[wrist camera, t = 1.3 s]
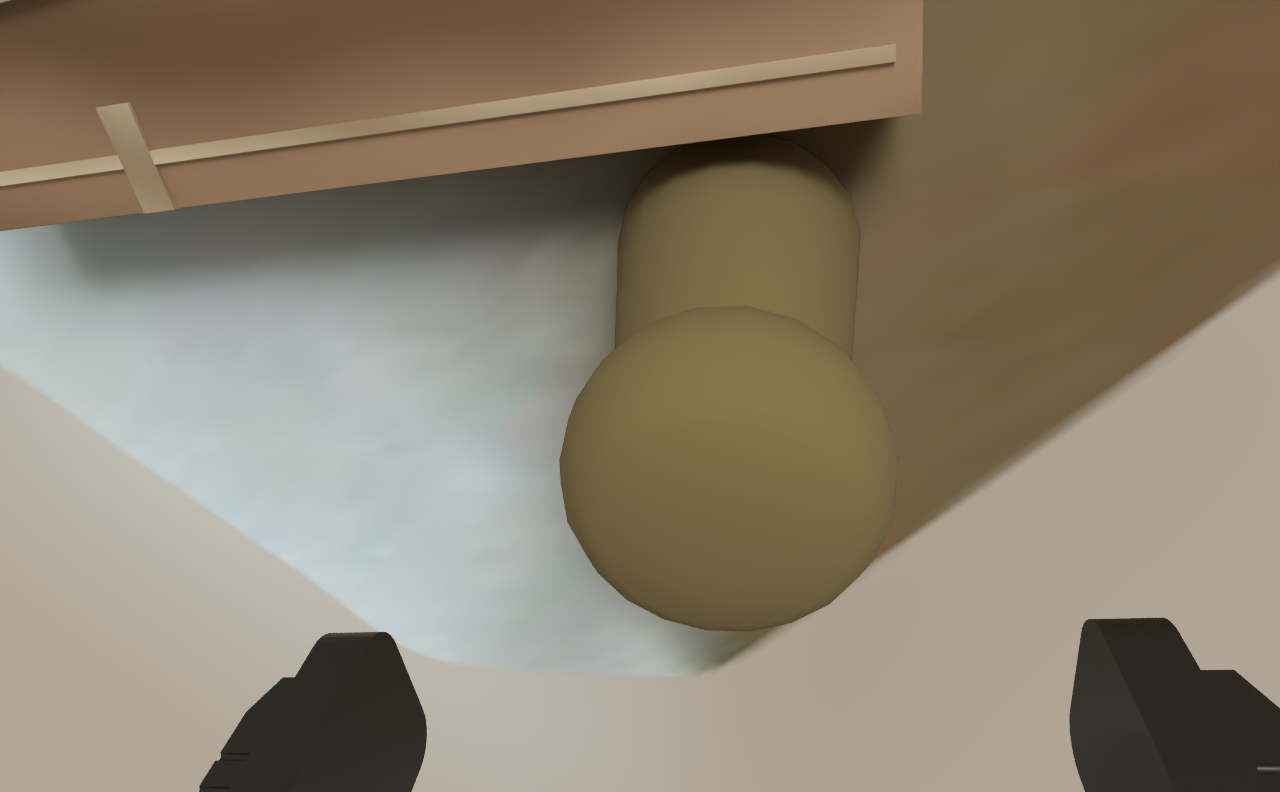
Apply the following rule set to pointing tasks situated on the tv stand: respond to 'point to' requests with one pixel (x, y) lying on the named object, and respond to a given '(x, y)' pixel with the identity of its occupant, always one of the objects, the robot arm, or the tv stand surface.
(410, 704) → the robot arm
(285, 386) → the tv stand surface
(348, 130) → the walnut board
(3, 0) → the steel ruler
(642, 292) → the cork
